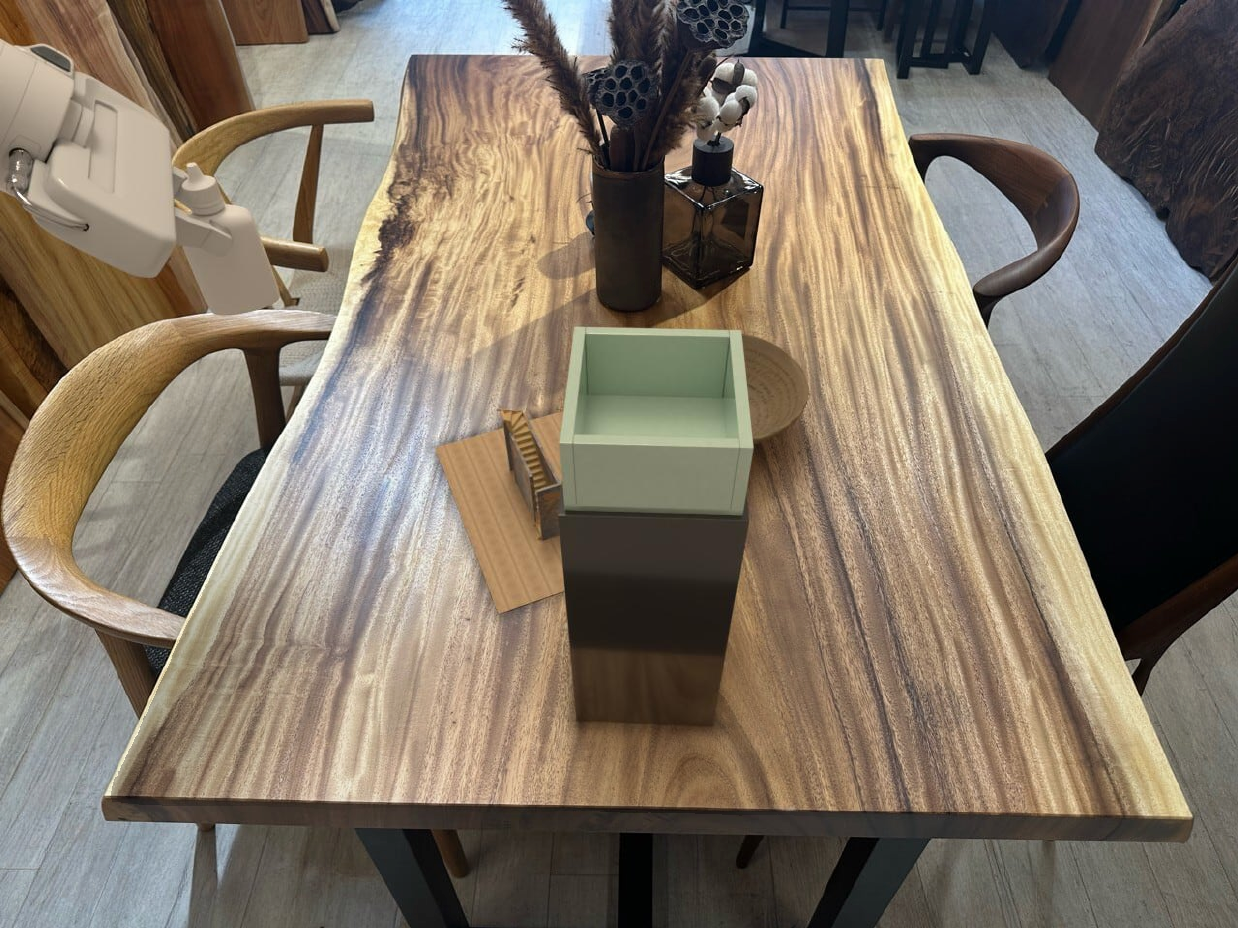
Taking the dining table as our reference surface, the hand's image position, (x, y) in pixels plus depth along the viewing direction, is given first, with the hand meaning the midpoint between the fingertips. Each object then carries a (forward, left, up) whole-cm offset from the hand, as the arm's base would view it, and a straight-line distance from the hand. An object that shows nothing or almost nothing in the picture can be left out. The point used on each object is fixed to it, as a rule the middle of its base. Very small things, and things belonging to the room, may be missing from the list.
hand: (226, 230), depth 63 cm
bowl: (+44, -4, -34) cm, 56 cm away
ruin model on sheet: (+20, -6, -34) cm, 40 cm away
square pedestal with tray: (+23, -29, -34) cm, 51 cm away
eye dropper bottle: (-1, 0, -7) cm, 7 cm away
